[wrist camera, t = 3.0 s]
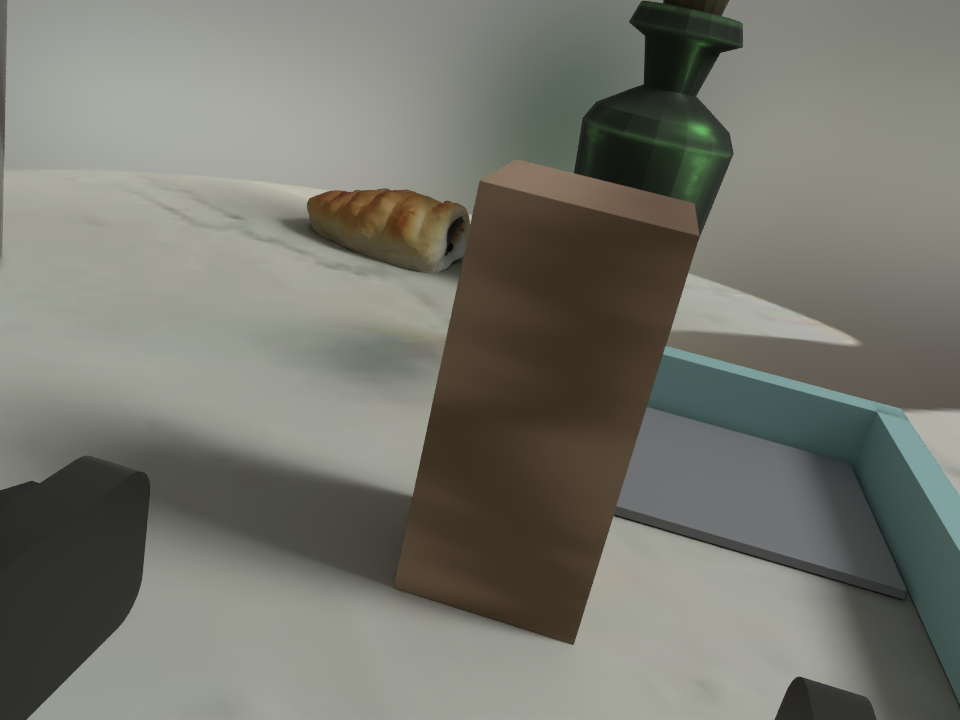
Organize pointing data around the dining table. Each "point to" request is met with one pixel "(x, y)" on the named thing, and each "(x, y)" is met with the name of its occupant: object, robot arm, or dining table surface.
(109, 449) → the dining table surface
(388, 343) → the dining table surface
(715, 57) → the potion bottle
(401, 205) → the pastry
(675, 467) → the teal corner fixture
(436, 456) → the walnut block
